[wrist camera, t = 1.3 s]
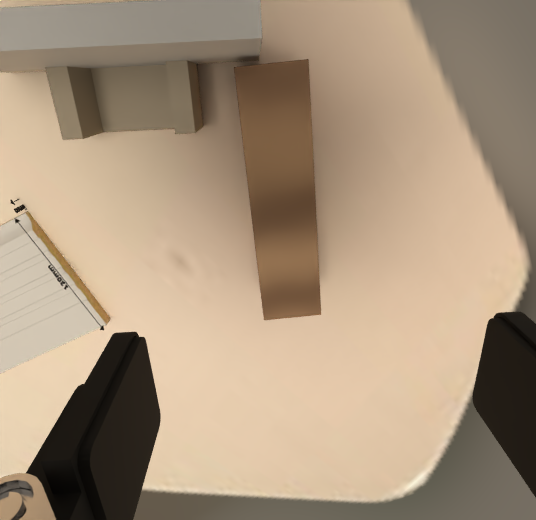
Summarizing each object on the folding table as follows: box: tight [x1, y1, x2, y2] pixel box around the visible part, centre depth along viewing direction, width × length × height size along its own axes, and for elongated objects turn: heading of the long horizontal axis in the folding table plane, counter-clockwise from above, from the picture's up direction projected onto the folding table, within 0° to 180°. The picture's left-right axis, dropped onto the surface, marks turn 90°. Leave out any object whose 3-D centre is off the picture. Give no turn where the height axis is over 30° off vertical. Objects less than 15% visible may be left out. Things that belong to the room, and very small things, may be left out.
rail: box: [234, 59, 321, 320], centre depth 27 cm, size 16×4×6 cm, turn 6°
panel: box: [0, 0, 262, 140], centre depth 20 cm, size 5×16×14 cm, turn 93°
